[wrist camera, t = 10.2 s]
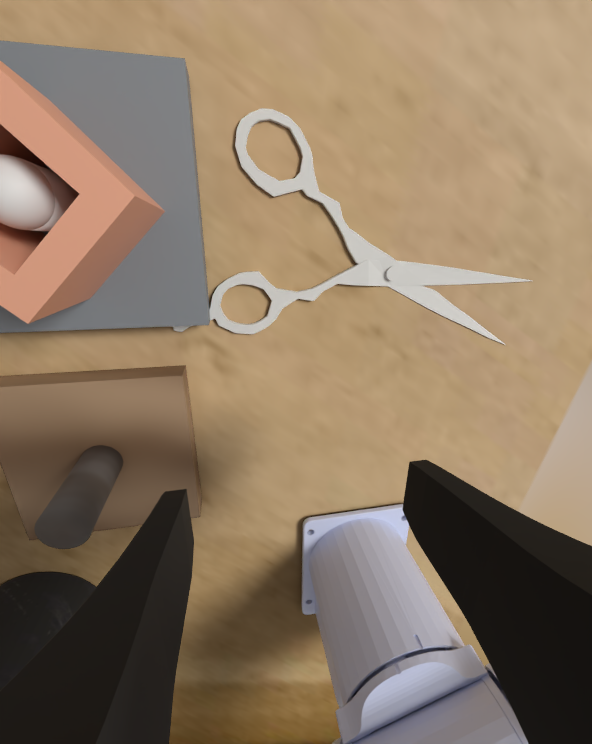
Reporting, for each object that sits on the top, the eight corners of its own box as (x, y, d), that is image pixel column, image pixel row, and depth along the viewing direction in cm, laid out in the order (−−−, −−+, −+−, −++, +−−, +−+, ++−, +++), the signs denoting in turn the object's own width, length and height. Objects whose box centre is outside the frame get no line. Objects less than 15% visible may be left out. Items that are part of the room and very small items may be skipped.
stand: (201, 499, 21) (193, 589, 16) (43, 519, 20) (-29, 626, 14) (185, 365, 18) (167, 419, 12) (-6, 376, 16) (-124, 444, 11)
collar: (165, 211, 14) (134, 195, 9) (90, 298, 15) (27, 324, 10) (49, 100, 12) (-60, 12, 8) (-31, 206, 13) (-177, 184, 8)
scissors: (206, 83, 14) (569, 223, 19) (207, 91, 14) (556, 224, 20) (170, 330, 17) (488, 393, 22) (173, 326, 18) (480, 388, 23)
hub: (210, 318, 17) (202, 353, 12) (-11, 325, 16) (-141, 371, 10) (188, 77, 14) (163, -34, 8) (-102, 51, 12) (-381, -112, 6)
